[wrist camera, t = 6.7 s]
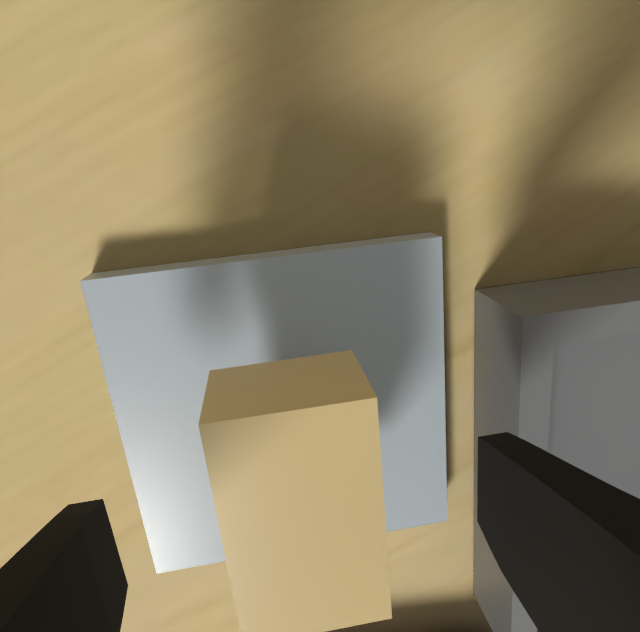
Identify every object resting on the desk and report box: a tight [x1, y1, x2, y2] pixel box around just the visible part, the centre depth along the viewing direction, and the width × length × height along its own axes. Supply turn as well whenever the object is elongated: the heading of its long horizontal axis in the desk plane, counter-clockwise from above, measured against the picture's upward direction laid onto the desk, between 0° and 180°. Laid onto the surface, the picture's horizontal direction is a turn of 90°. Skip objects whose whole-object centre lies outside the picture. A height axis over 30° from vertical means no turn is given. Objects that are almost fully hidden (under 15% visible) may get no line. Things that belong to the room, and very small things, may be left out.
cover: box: [80, 232, 447, 632], centre depth 11 cm, size 9×9×5 cm
